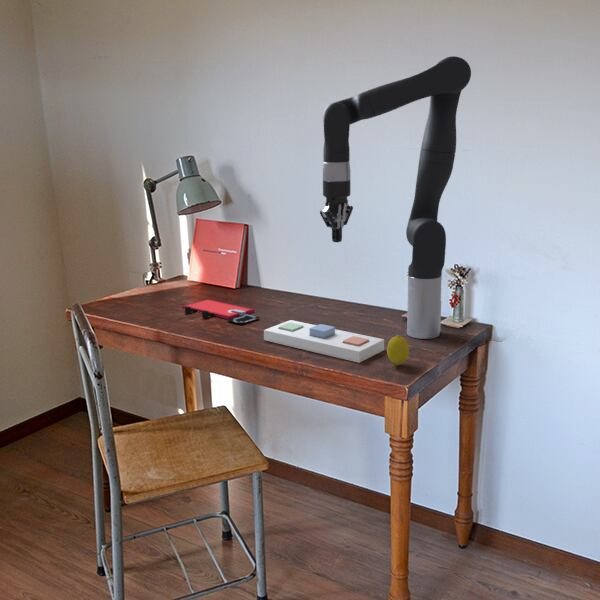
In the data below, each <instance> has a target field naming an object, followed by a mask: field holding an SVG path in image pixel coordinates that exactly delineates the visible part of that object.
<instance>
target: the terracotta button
mask: <svg viewBox="0 0 600 600" xmlns="http://www.w3.org/2000/svg"><path fill="white" fill-rule="evenodd" d="M368 342H369V339H365V338H360V337H356V336H352V337H350V338H348V339H346V340H343V343H344V344H349V345H353V346H358V347H359V346H361V345H363V344H366V343H368Z"/></svg>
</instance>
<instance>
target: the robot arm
mask: <svg viewBox="0 0 600 600" xmlns="http://www.w3.org/2000/svg"><path fill="white" fill-rule="evenodd" d="M471 76H472V69H471V65H470V64H469V63H468V62H467V60H465V59H464V58H462V57H459V56H456V55H455V56H454V55H452V56H451V55H450V56H447V57H445V58H443V59H441V60H439V61H438V62H437V63H436V64H435V65H434V66H432V67H429V68H428V69H426V70H424V71H422V72H421V71H420V72H419V73H417V74H414V75H412V76H409V77H406V78H402V79H400V80H396V81H392V82H389V83H386V84H381V85H379V86H376V87H374V88H371V89H368V90H366V91H362V92H361V93H358V94H357V95H354V96H351V97H348V98H345V99H341V100H338V101H334V102H332V103H329V104H328V105H327V106H326V107H325V108H324V110H323V112H322V113H323V114H322V120H323V137H324V138H323V139H324V142H323V151H322V152H323V155H322V156H323V165H322V166H323V167H322V196H324V198H325V205H324V206H325V207H324V209H323V210H320V211H319V215H320V216H321V218H322V221H324V224H325V226H326V227H327V228H330V229H331V239H332V243H341V242H342V241H343V240H342V239H343V229H344V226H347V224H348V222H349V220H350V217H351V215H352V212H353V210H354V206H353V205H349V200H348V197H350V196H351V164H350V158H351V157H350V142H349V139H350V126H351V125H352V124H355V123H358V122H360V121H362V120H363V121H365V120H368V119H372V118H375V117H378V116H381V115H385V114H386V113H389V112H391V111H394V110H397V109H400V108H401V107H404V106H406V105H409V104H411V103H414V102H417V101H419V100H422V99H426V98H428V97H430V98H429V109H428V115H427V118H426V119H427V120H426V123H425V127H424V132H423V137H422V142H421V147H420V153H419V158H418V166H417V168H418V169H417V174H416V180H415V188H414V189H415V192H414V199H413V203H412V207H411V210H410V214H409V218H408V222H407V226H406V233H405V234H406V239H407V242H408V244H409V245H410V246H411V247H412V252H411V253H412V254H411V261H410V264H409V265H408V270H407V274H408V275H407V318H406V319H407V320H406V334H407V336H409V337H411V338H413V339H421V340H423V339H424V340H427V339H428V340H429V339H436V338H438V337H439V336H440V334H441V326H442V325H441V323H442V321H441V319H442V277H443V275H442V274H443V268H444V265H445V260H446V248H447V246H446V245H447V235H446V230H445V228H444V226H443V225H442V224H441V222H439V221H438V214H439V207H440V202H441V199H442V195H443V192H444V191H445V189H446V187H447V185H448V182H449V180H450V178H451V175H452V173H453V169H454V164H455V158H456V149H457V111H458V107H459V101H460V97H461V93H462V92H463V90H464V89H465V88H466V87H467V86H468V84H469V82H470V80H471Z"/></svg>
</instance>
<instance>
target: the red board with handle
mask: <svg viewBox="0 0 600 600" xmlns="http://www.w3.org/2000/svg"><path fill="white" fill-rule="evenodd" d="M181 308H182V309H183V308H185V309H184V313H186V314H185V315H188V314H190V315H192V313H196V312H195V311H199V312H202V313H201V315H202V316H201V317H202V319H203V318H206V319H205V320H208V319H207V318H209V317H215V316H217V317H216V318H219V317H220V319H224V320H227V321H229V322H232V323H233V322H234V323H236V324H237V323H238V324H244V323H248V322H251V321H254V320H258V319H261V317H260V316H257V315H252V312H253V313H255V309H254V308H249V307H245V306H239V305H236V304H231V303H227V302H221V301H218V300H215V299H214V300H213V299H209V298H208V299H203V300H199V301H195V302H192V303H187V304H183V305H182V306H181ZM199 312H198V313H199ZM249 313H250V314H249ZM209 319H210V318H209Z"/></svg>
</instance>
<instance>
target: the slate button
mask: <svg viewBox="0 0 600 600" xmlns="http://www.w3.org/2000/svg"><path fill="white" fill-rule="evenodd" d="M316 325H317V326H314V327H312V328H309V331H310V336H313V337H317V338H322V339H326V338H328V337H331V336H333V335H335V329H336V327H335V326H332V325H328V324H327V325H326V324H321V323H319V324H316Z"/></svg>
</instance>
